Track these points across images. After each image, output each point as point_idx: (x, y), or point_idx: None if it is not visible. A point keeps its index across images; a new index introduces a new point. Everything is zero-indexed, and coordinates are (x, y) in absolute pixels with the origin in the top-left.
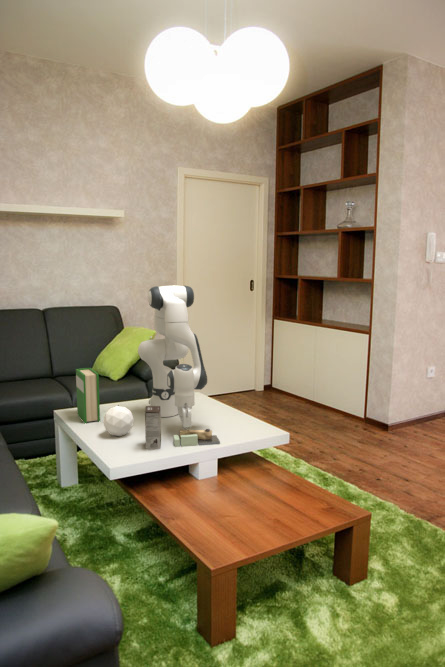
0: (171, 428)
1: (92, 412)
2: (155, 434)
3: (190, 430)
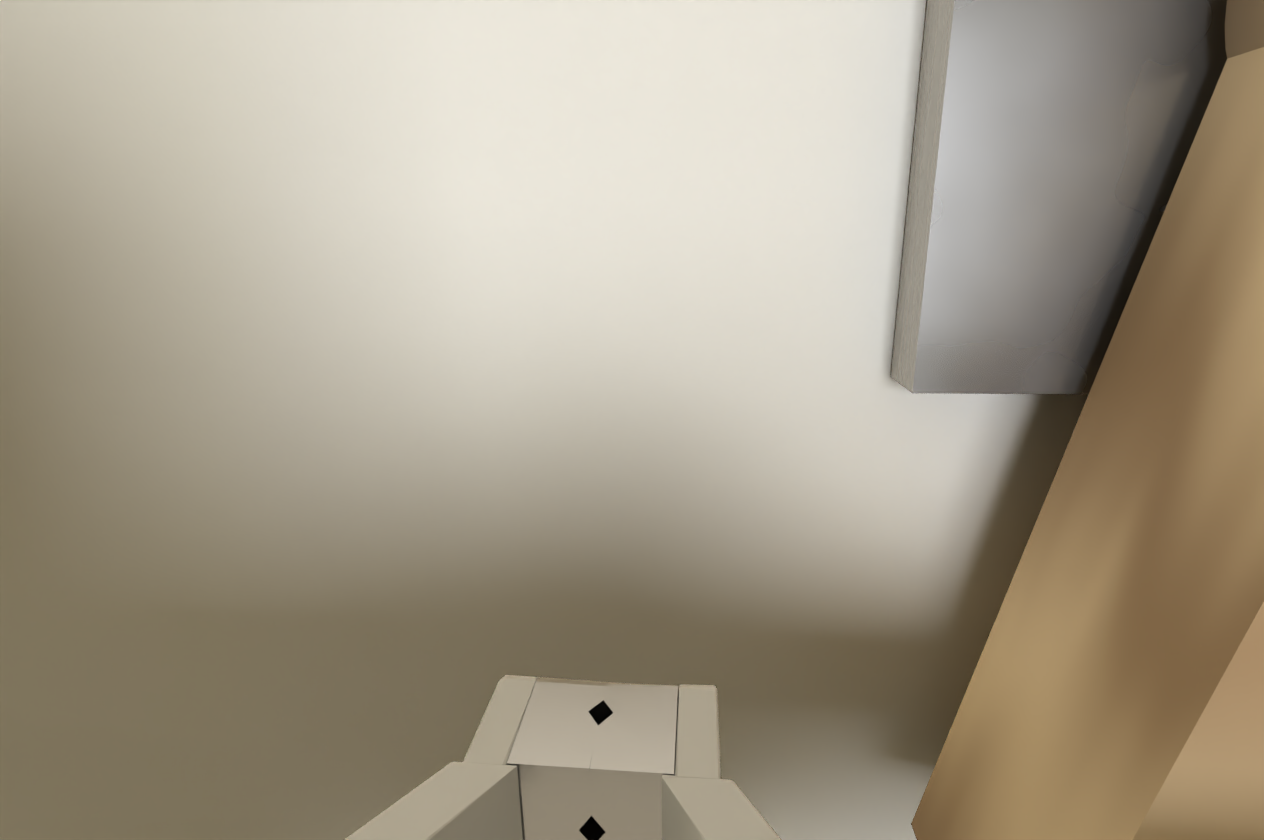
0: (13, 796)
1: None
2: None
3: (1240, 775)
